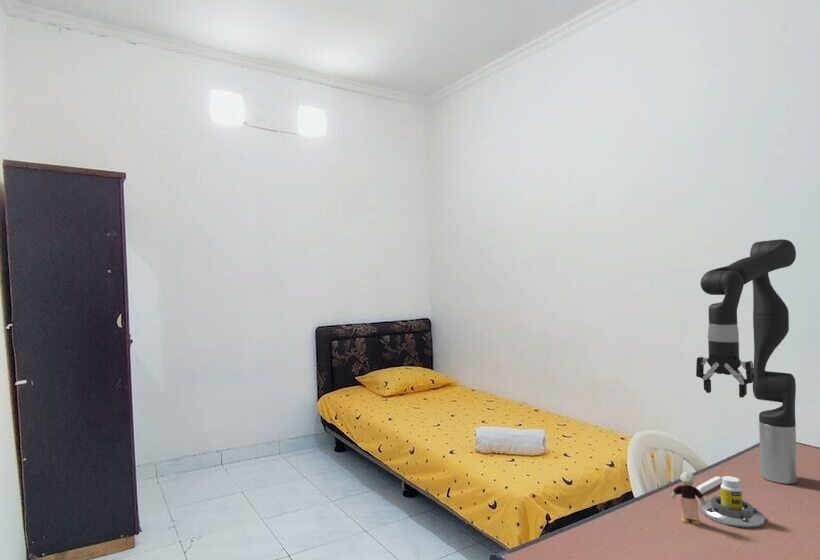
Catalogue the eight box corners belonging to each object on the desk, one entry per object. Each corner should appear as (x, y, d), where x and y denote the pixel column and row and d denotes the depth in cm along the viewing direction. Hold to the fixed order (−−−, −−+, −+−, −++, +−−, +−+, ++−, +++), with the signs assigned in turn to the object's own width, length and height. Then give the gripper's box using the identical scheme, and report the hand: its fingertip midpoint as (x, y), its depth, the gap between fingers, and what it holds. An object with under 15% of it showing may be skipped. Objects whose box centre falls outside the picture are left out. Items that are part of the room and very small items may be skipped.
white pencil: (693, 499, 143) (718, 485, 152) (700, 497, 141) (724, 483, 150) (689, 489, 144) (713, 476, 153) (695, 488, 142) (719, 474, 152)
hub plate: (710, 499, 140) (710, 488, 140) (770, 515, 129) (770, 503, 129) (693, 515, 130) (693, 503, 130) (757, 534, 120) (756, 521, 120)
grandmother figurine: (703, 519, 128) (702, 470, 128) (707, 526, 124) (706, 476, 124) (670, 515, 130) (669, 467, 130) (673, 522, 126) (672, 472, 127)
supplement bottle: (733, 516, 127) (732, 483, 127) (716, 508, 131) (715, 476, 132) (746, 513, 128) (746, 480, 129) (730, 505, 133) (729, 474, 133)
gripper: (756, 339, 140) (757, 396, 140) (701, 336, 151) (702, 388, 151) (747, 342, 135) (749, 401, 136) (691, 338, 146) (693, 393, 146)
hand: (724, 394), depth 143 cm, fingers open, 8 cm apart
